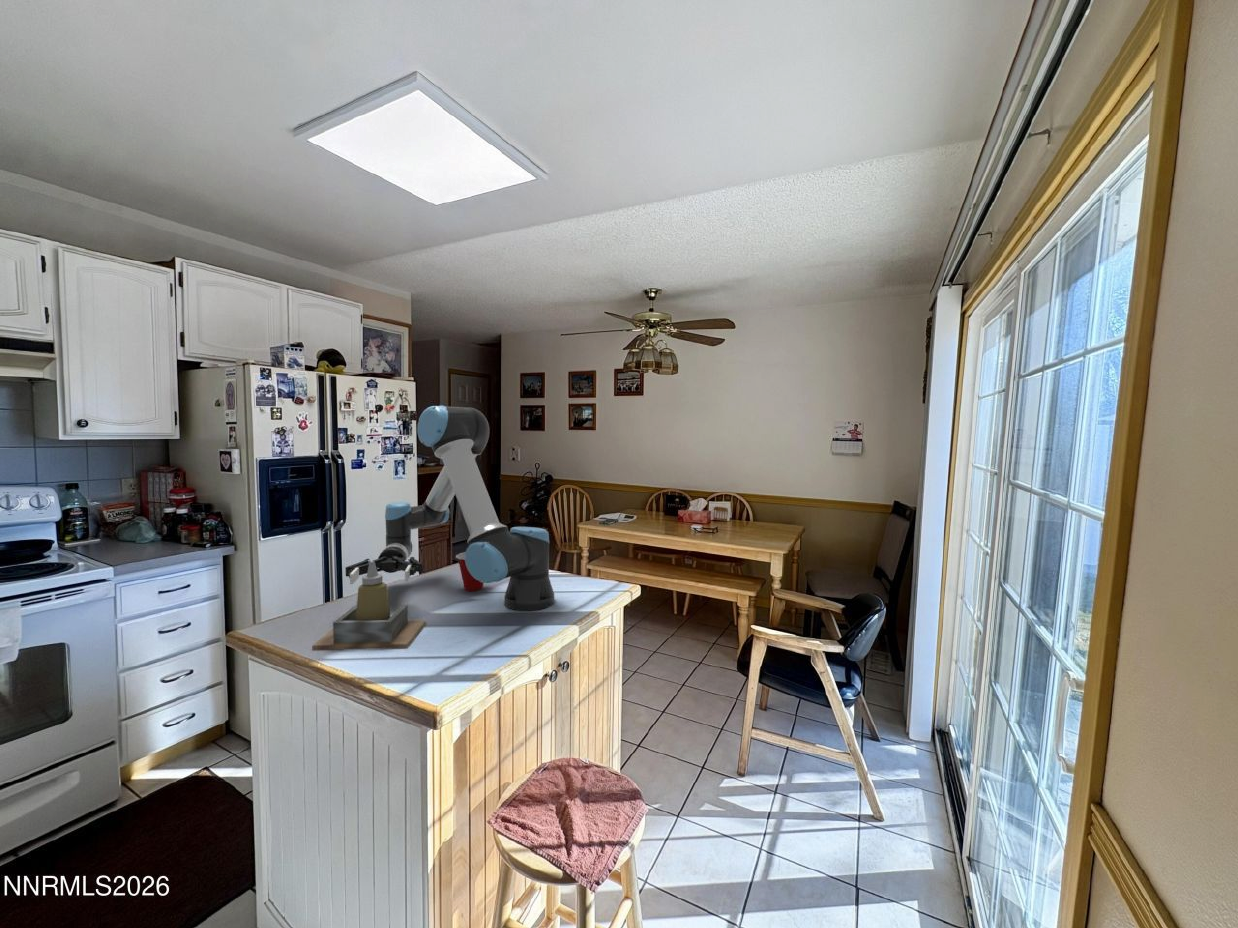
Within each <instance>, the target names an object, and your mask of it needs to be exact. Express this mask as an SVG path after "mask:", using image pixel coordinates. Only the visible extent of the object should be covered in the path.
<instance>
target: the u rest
mask: <svg viewBox="0 0 1238 928" xmlns="http://www.w3.org/2000/svg"><path fill="white" fill-rule="evenodd" d="M408 605H409V604H402V605H401V606H400V607H399V608H398V609H397V610H396V611H395V612H393V614H391V615H390V618H389V619H388V620H360V621H355V620H356V609H357V604H355V605H353V606H352V607H351V608H350V609H349V610H348V611H346V612H345V613H344V614H342V615H341V616H340V617H339V618H337V619H335V621H333V622H332V629H331V630H330V631H328V632H327V633H326V634H325V635H323V636H322V637H321V638H319V639H318V640H317V641H316V642H315V643H313V644H312V646H311V648H312V649H318V650H363V649H364V650H367V649H368V650H369V649H370V650H372V649H373V650H374V649H408V648H409V646H410V645H411V644H412V643H413V642H414V640H416V638H417V636H419V634H420V633H421V632H422V630H423V629H424V628H423V627H426V625H427V620H409V609H408V608H409V607H408ZM312 649H311V650H312Z"/></svg>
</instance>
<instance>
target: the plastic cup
mask: <svg viewBox="0 0 1238 928" xmlns="http://www.w3.org/2000/svg"><path fill="white" fill-rule="evenodd" d="M465 553H466V551H463V552H460V553H458V554H456V555H455V559H457V562H458V565H459V568H460V569H459V570H460V575H461V578H462V582H463V588H464V591H466V590H467V591H468V592H476V590H478V591H480V590H482V589H483V587H484V583H482V582H480V581H479V580H476V579H475V578H474V577H473V576H472V575H471V574H470V572H469V571H468V569H467V567H466V563H465V557H466V555H465ZM467 591H466V592H467Z"/></svg>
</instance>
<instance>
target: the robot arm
mask: <svg viewBox="0 0 1238 928" xmlns="http://www.w3.org/2000/svg"><path fill="white" fill-rule="evenodd" d="M416 428H417V436H418V440H419V441H420V443H421V444H423V445H424V446H425V447H429V448H430V447H431V449H432V451H433V453H434V456H435V457H436V458H438V459H441V460H442V463H443V467H442V469H441V470H440V473H439V475H438V477H437V478H436V480H435V482H434V484H433V486H432V488H431V490H430V491H429V494H428V495H427V498H426V500H424V503H422V505H417V506H411V503H409V502H408V501H407V502H405V501H399V502H398V501H397V502H396V501H395V502H390V503H387V504H386V506H385V510H384V511H385V512H384V514H385V515H384V519H385V534H386V535H385V548H384V549H383V550H382V552H380V554H379V555H378V558H376V559H373V560H372V561H374V562H375V565H376V569H377V572H378V573H379V572H384V573H387V574H388V573H389V574H393V573H396V572H401V571H402V572H404V581H405V582H408V581H409V579H410V578H411V576H414V575H415V574H416V573H419V574H422V573H424V570H423V569H424V564H423V563H422V562H420V561H419V560H417V559H415V556H411V554H412V552H413V542H412V539H411V538H412V537H411V536H412V530H416V529H422V528H427V527H428V528H429V527H433V526H434V527H435V526H439V525H442V524H445V523H447V521H448V520H449V518H450V508H449V505H450V504H451V502H452V500H453V498H454V496H455V497H456V500H457V503H458V505H459V507H460V510H461V513H462V516H463V519H464V521H465V524H466V526H467V529H468V532H469V537H468V539H467V542H466V543H467V545H468V547H467V548H466V551H465V552H466V553H465V555H466V557H465V563H466V567H467V569H468V571H469V572H470V574H471V575H472V576H473V577H474V578H475V579H476V580H479V581H480V582H482V583H483V584H491V583H494V582H495V583H496V582H501V581H503V580H504V579H507V578H509V581H508V583H507V584H508V585H507V586H506V587H507V588H506V591H505V594H504V597H503V598H504V599H503V601H504V603H503V604H504V606H505V607H506V608H508V609H510V610H517V611H528V612H529V611H537V610H543V609H546V608H548V607H551V606H552V605H554V603H555V591H554V588H553V585H552V583H551V579H550V534H549V531H548V530H546V529H545V528H541V527H533V526H532V527H531V526H514V527H511V528H510V531H509V529H508V526H507V525H505V524H502V523H501V522H500V520H499V518H498V516H497V513H496V510H495V507H494V505H493V503H492V500H491V497H490V495H489V492H488V490H487V487H486V485H485V482H484V479H483V477H482V474H481V471H480V470H479V467H478V464H477V461H476V457H477V456H480V455H481V454H482V453H483V452H484V450H485V448H486V446H487V443H488V441H489V438H490V424H489V422H488V418H486V416H485V415H484V413H482V412H481V411H480V410H478V409H476V408H473V407H467V406H466V407H463V406H462V407H461V406H446V405H432V406H429V407H427V408H426V409H424V410H423V411H422V413H421V414H420V416H419V418H418V422H417V427H416ZM410 556H411V557H410ZM370 562H371V559H370V558H366V559H364V560H362V561H359V562H357V563H354V564H351V565H348V566H345V567H344V568H345V577H348V578H349V585H354V584H355V583H356V581H357V580H358V579H359V578H360V576H362V575H363V576H364V575H367V572H368V567H369V563H370Z"/></svg>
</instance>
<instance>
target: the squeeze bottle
mask: <svg viewBox="0 0 1238 928" xmlns="http://www.w3.org/2000/svg"><path fill="white" fill-rule="evenodd" d="M361 583H362V584H360V585H359V586H358V588H357V597H356V598H357V599H356V605H357V609H356V620H355V621H360V620H388V619H389V618H390V617H391V610H390V602H389V601H390V600H389V593H388V586H387V584H386V583H385V582H383V574H381V573H379V572H377V569H376V565H375V562H374V561H373V560H372V561H370V563H369V567H368V572H367V573H366V574H364V575H363V576H362V579H361Z"/></svg>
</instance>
